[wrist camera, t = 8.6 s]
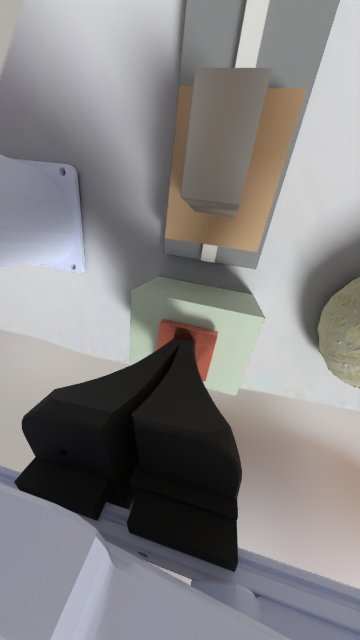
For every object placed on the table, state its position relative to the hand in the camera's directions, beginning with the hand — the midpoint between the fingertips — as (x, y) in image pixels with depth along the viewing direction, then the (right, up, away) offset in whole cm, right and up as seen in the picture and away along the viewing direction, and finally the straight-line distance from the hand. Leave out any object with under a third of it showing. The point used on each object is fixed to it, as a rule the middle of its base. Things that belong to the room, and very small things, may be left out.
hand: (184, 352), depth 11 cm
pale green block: (+1, +2, +5) cm, 6 cm away
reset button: (0, +1, +2) cm, 2 cm away
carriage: (+2, +10, 0) cm, 11 cm away
